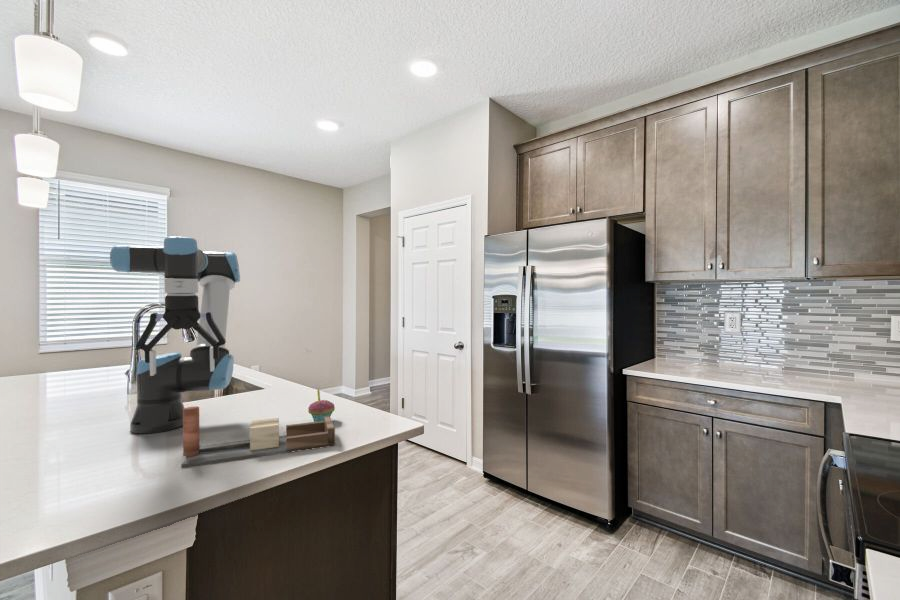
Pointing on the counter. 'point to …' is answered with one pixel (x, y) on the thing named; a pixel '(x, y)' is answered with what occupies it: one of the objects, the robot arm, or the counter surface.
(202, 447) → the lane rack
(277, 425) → the rod with end block
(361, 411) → the counter surface
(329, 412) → the cupcake
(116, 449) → the counter surface
